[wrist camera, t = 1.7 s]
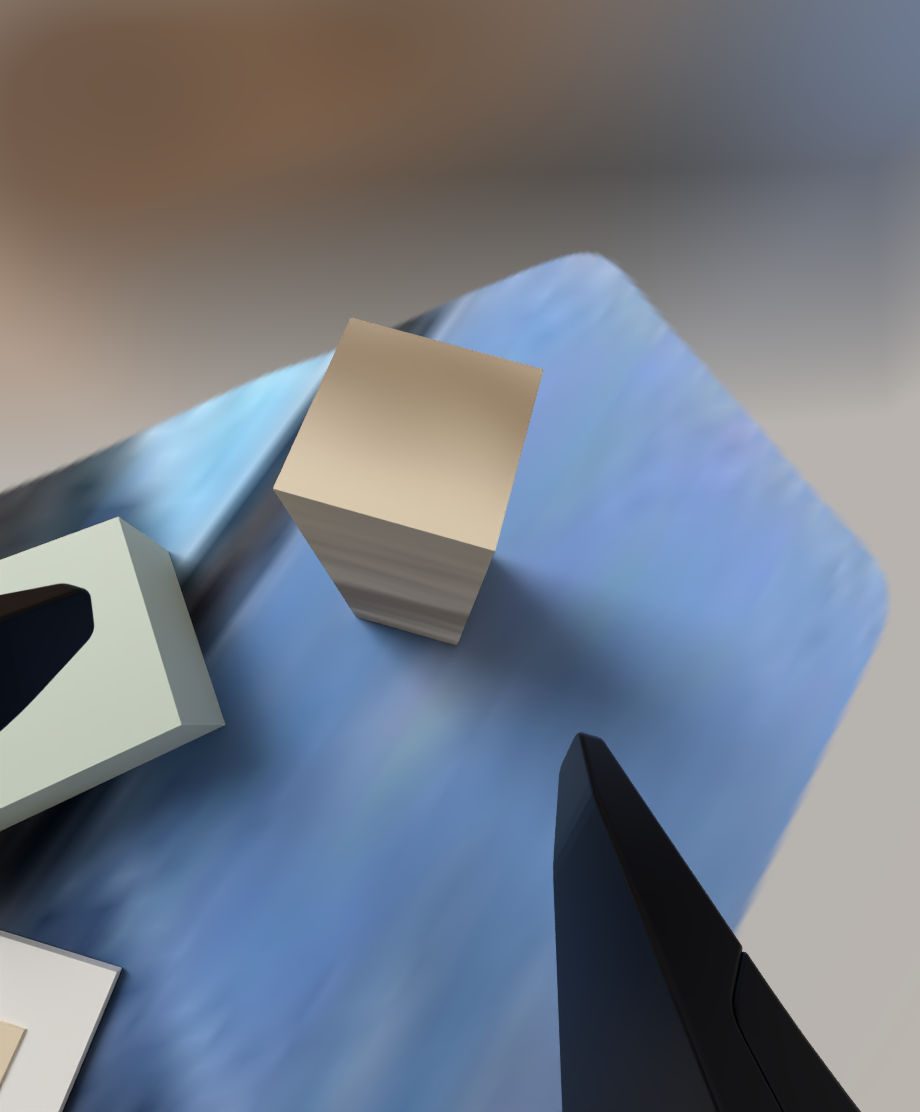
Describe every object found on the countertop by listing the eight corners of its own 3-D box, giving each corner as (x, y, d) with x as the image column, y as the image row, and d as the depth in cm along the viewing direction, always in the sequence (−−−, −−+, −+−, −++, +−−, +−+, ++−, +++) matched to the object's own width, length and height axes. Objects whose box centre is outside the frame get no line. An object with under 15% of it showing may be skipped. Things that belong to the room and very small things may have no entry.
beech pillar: (456, 645, 21) (494, 550, 9) (355, 616, 21) (273, 488, 10) (483, 550, 22) (543, 368, 11) (388, 523, 22) (350, 317, 11)
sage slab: (-50, 856, 17) (-181, 892, 14) (-82, 652, 20) (-203, 634, 16) (228, 724, 19) (181, 724, 16) (171, 553, 22) (118, 516, 18)
